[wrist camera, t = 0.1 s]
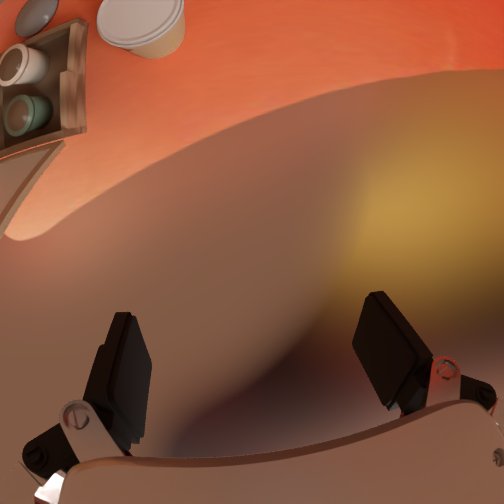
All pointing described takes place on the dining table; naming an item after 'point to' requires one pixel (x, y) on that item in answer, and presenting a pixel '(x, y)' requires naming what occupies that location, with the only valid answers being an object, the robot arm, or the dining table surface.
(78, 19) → the box
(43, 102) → the green pot
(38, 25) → the slate saucer
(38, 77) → the cream pot
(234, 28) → the dining table surface
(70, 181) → the dining table surface
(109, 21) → the coffee cup
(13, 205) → the frame lid
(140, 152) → the dining table surface
